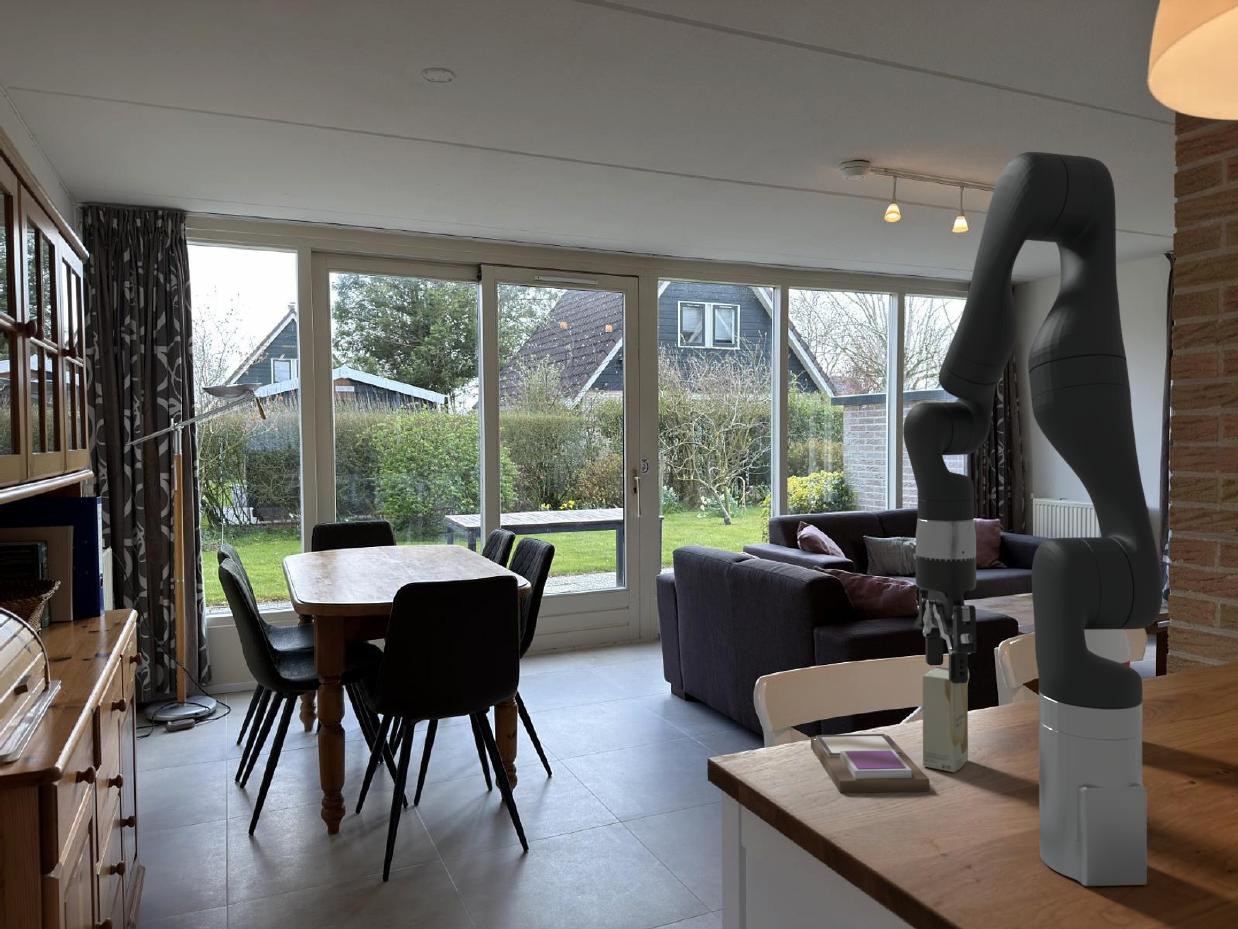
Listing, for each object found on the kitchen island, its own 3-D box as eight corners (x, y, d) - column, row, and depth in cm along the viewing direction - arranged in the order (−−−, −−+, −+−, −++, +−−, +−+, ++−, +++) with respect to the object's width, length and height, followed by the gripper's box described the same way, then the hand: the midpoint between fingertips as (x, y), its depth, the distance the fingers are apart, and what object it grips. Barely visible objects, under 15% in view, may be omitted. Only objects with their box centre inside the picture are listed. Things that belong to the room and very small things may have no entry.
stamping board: (929, 791, 107) (929, 770, 107) (840, 793, 107) (839, 772, 107) (888, 745, 123) (888, 727, 123) (810, 747, 123) (810, 729, 123)
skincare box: (955, 774, 113) (954, 680, 112) (921, 767, 115) (920, 675, 115) (969, 759, 118) (969, 669, 117) (937, 753, 120) (936, 665, 120)
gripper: (997, 560, 109) (997, 688, 109) (953, 544, 123) (953, 658, 124) (936, 561, 109) (937, 690, 109) (900, 545, 123) (900, 659, 124)
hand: (945, 673), depth 116 cm, fingers open, 8 cm apart
